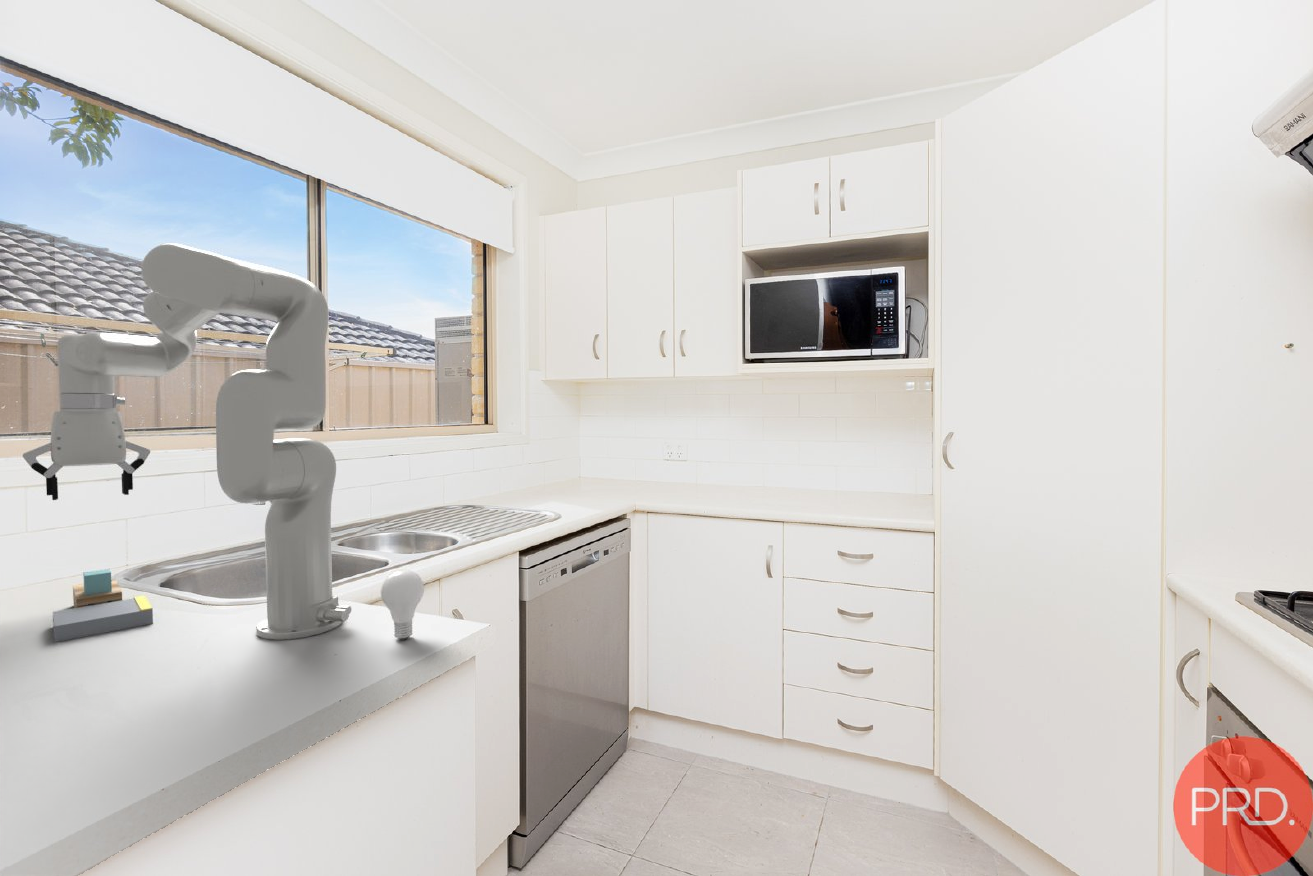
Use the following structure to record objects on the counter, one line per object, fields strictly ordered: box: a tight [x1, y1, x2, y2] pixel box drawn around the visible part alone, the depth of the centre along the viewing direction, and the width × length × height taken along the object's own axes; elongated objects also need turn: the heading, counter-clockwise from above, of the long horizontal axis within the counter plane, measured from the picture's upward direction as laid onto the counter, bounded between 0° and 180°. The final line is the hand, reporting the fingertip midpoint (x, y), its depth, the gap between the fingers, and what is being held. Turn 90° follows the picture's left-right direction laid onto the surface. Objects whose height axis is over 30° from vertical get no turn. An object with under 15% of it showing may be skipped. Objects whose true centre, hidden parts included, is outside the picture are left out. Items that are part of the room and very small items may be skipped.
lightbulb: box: [380, 569, 425, 640], centre depth 98 cm, size 6×6×11 cm
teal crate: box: [82, 568, 112, 596], centre depth 111 cm, size 4×4×4 cm
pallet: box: [72, 578, 123, 608], centre depth 113 cm, size 12×6×4 cm, turn 45°
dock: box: [52, 595, 154, 643], centre depth 105 cm, size 10×12×3 cm
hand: (91, 496), depth 114 cm, fingers open, 9 cm apart
